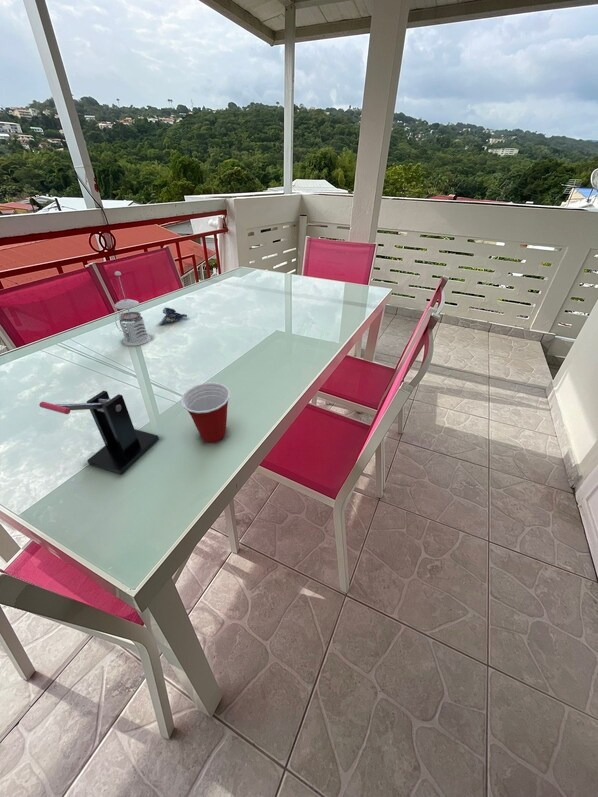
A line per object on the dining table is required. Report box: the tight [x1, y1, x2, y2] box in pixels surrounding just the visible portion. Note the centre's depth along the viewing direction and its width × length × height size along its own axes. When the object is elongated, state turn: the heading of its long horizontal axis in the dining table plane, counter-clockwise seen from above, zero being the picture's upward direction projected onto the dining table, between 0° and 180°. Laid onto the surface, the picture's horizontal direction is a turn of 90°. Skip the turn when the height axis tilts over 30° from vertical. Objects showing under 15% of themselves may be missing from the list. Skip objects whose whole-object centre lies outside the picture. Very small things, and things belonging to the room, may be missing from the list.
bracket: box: [86, 390, 159, 475], centre depth 71 cm, size 12×9×15 cm
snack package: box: [158, 307, 188, 326], centre depth 140 cm, size 12×6×12 cm
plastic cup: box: [180, 381, 231, 443], centre depth 77 cm, size 11×11×12 cm
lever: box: [39, 398, 112, 415], centre depth 63 cm, size 13×6×2 cm
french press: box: [113, 270, 152, 347], centre depth 117 cm, size 10×12×25 cm
